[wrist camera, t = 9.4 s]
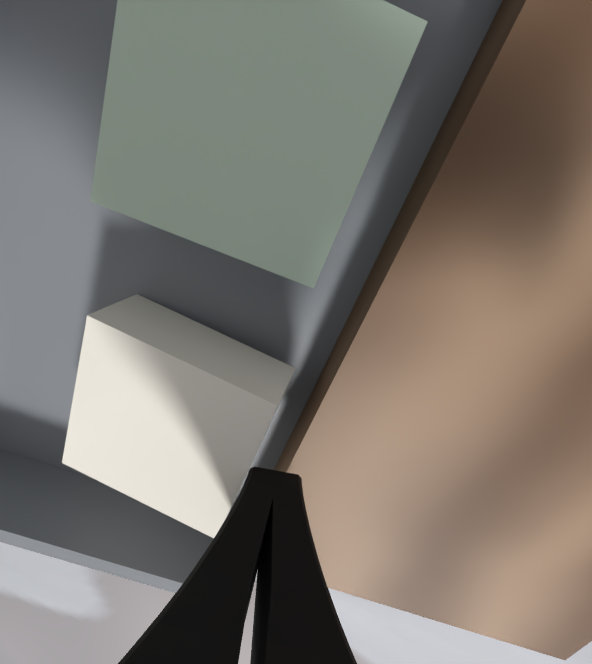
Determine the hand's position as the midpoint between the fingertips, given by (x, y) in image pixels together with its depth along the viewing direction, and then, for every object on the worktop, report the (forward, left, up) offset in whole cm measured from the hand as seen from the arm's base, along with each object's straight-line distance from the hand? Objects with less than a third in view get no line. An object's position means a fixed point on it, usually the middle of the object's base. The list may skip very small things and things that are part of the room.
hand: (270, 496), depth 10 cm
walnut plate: (-7, -4, -3) cm, 9 cm away
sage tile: (+4, -8, -3) cm, 9 cm away
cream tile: (+3, -1, -2) cm, 4 cm away
